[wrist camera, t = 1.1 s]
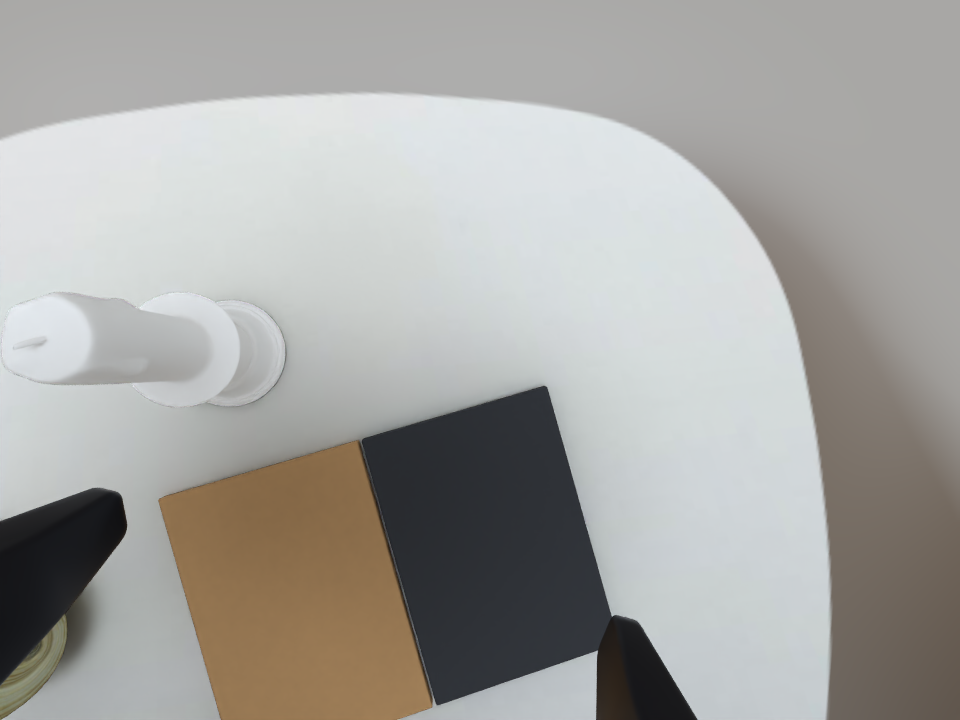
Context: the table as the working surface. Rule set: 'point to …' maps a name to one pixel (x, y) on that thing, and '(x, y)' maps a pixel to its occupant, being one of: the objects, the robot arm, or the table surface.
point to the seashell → (33, 670)
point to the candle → (147, 346)
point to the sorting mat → (391, 568)
